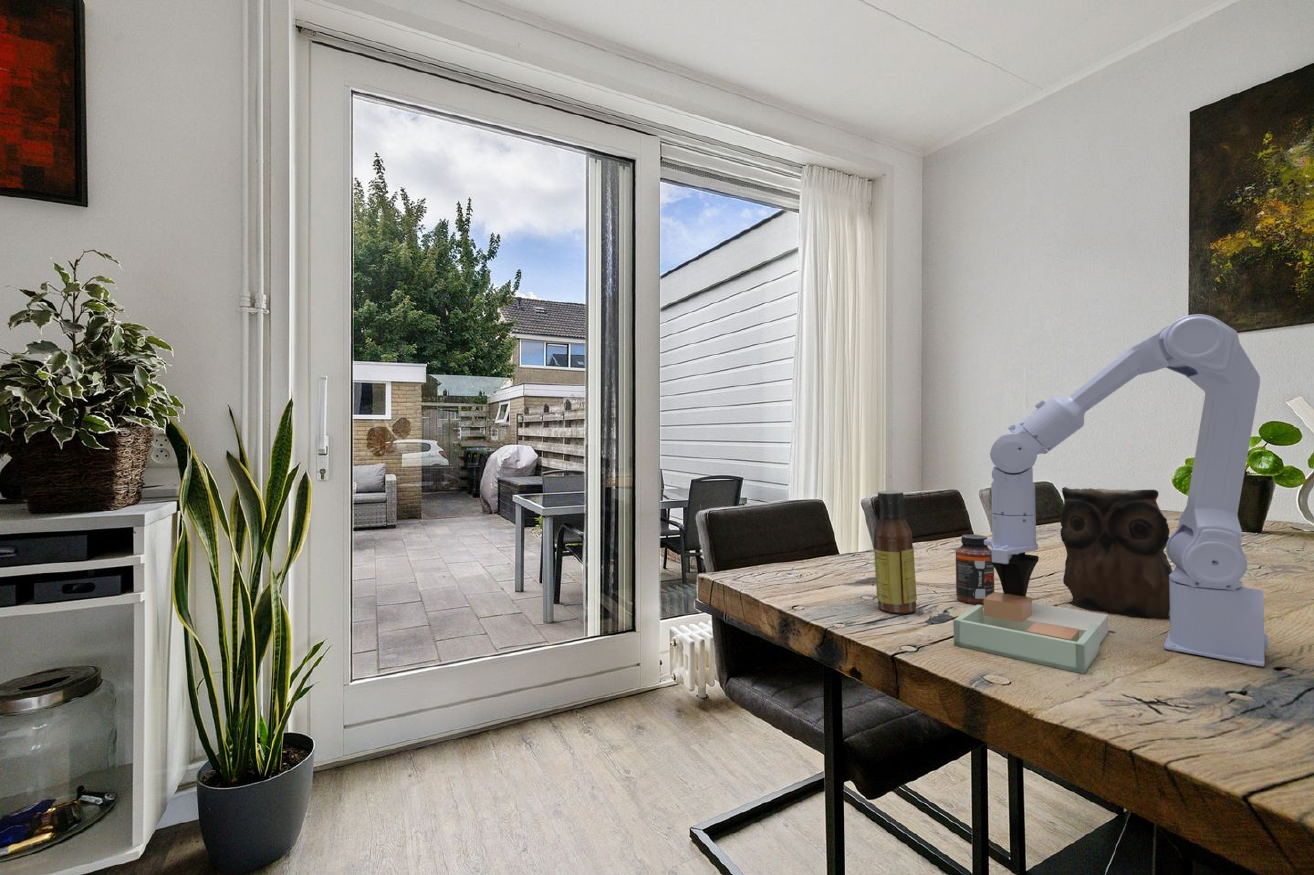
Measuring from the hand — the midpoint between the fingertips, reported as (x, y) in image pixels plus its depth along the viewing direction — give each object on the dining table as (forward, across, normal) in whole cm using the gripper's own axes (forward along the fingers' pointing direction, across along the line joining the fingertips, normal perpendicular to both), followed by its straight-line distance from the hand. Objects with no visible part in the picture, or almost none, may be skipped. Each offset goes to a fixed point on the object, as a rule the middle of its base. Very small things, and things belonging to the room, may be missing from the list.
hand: (1015, 603), depth 91 cm
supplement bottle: (+4, -11, -9) cm, 14 cm away
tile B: (+1, +4, 0) cm, 4 cm away
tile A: (+3, +9, +7) cm, 11 cm away
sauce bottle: (+4, +3, -17) cm, 18 cm away
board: (+3, -1, +4) cm, 5 cm away
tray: (+3, +9, +4) cm, 10 cm away
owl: (+4, -22, +10) cm, 24 cm away
